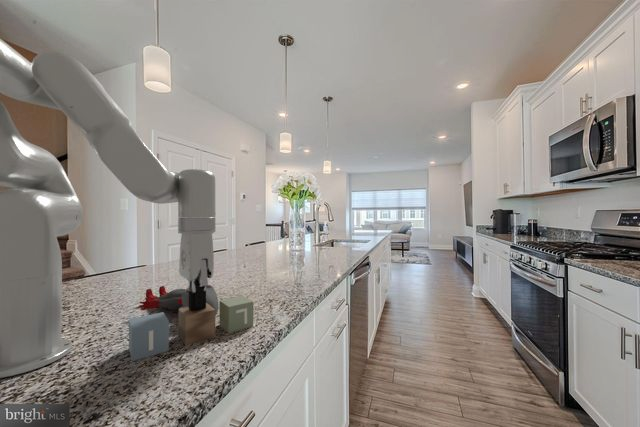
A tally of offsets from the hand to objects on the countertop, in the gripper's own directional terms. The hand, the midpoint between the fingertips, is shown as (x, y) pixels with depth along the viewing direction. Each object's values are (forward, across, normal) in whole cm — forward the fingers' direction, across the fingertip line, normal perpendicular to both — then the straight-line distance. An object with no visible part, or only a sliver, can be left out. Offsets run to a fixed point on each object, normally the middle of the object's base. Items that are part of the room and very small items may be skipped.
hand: (197, 308), depth 59 cm
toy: (+6, -19, 0) cm, 20 cm away
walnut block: (+6, 0, 0) cm, 6 cm away
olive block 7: (+6, 0, +9) cm, 11 cm away
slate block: (+6, 0, -9) cm, 11 cm away
